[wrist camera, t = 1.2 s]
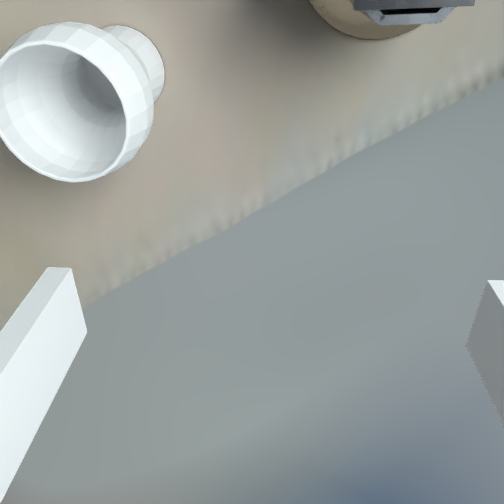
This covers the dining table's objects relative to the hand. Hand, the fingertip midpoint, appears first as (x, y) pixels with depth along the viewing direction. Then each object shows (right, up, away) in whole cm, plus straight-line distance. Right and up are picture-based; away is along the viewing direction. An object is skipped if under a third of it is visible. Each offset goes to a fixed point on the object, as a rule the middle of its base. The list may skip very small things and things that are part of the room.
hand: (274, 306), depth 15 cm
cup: (-13, +19, +29) cm, 37 cm away
